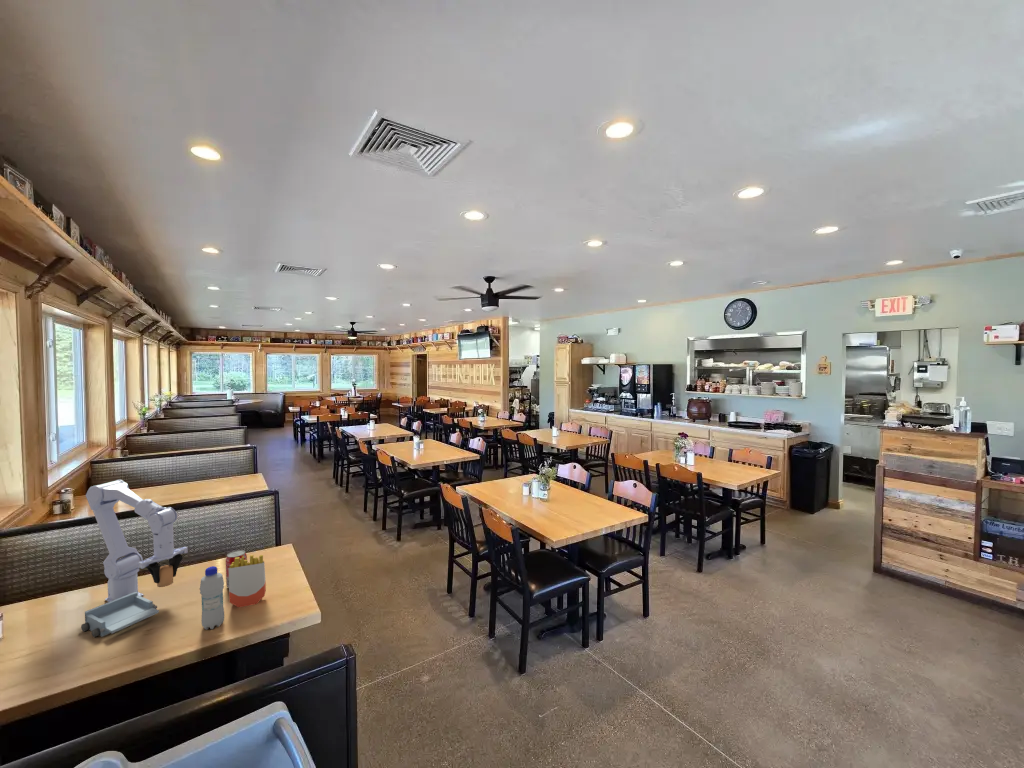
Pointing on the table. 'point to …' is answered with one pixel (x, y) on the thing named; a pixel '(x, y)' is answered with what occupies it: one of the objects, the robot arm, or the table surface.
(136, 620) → the panel
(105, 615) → the box
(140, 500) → the robot arm
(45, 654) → the table surface
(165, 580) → the tan hollow cylinder
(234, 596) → the french fries container
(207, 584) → the bottle
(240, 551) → the soda can
